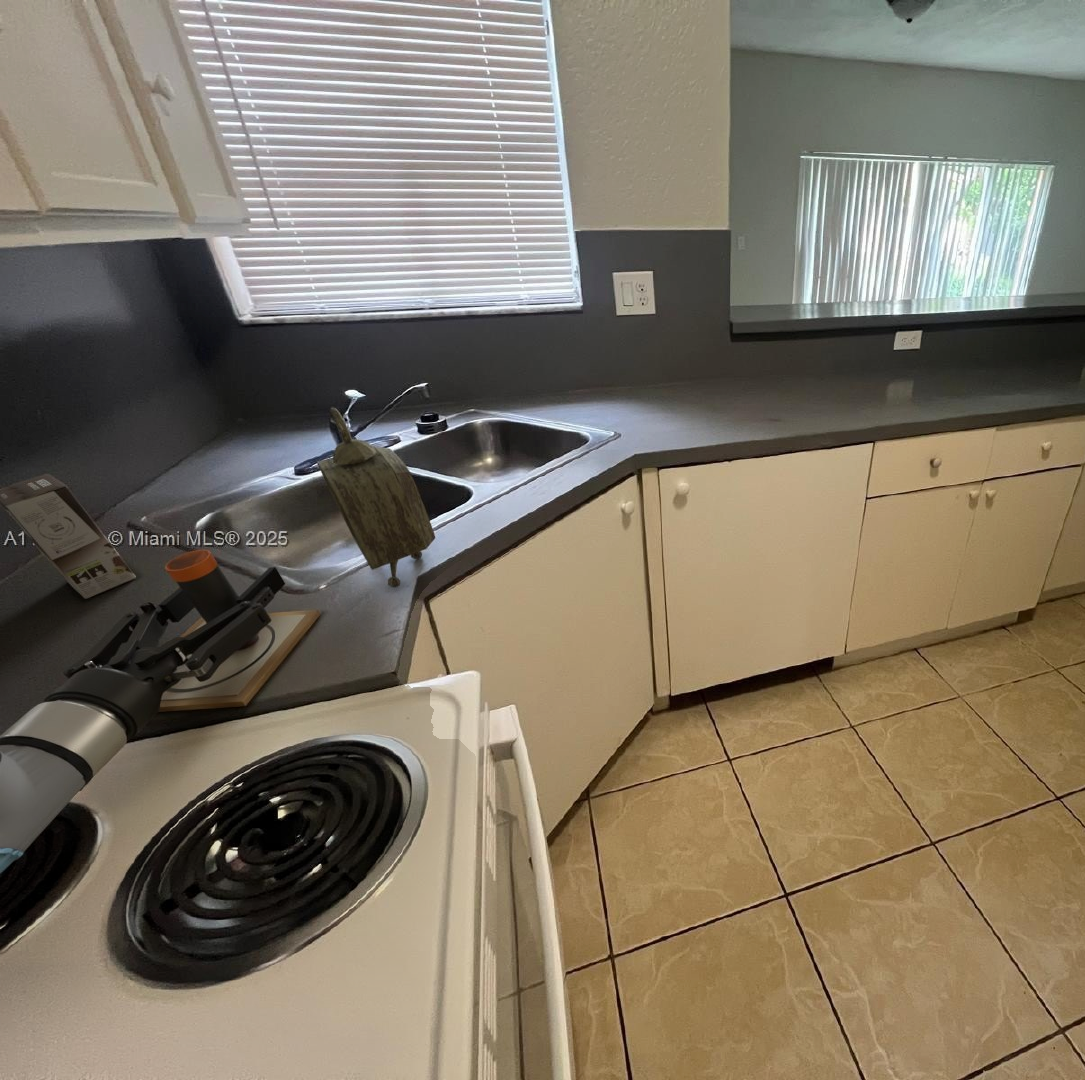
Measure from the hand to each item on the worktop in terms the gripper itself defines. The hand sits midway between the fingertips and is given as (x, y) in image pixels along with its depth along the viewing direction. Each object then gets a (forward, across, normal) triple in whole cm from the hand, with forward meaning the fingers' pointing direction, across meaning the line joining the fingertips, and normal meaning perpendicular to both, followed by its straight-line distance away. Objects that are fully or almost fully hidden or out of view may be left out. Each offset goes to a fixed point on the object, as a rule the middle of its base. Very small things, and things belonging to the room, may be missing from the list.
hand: (242, 578), depth 72 cm
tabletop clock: (+12, +13, -8) cm, 20 cm away
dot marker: (-5, 0, -7) cm, 8 cm away
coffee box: (+13, -34, -8) cm, 37 cm away
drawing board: (-7, -2, -8) cm, 10 cm away
